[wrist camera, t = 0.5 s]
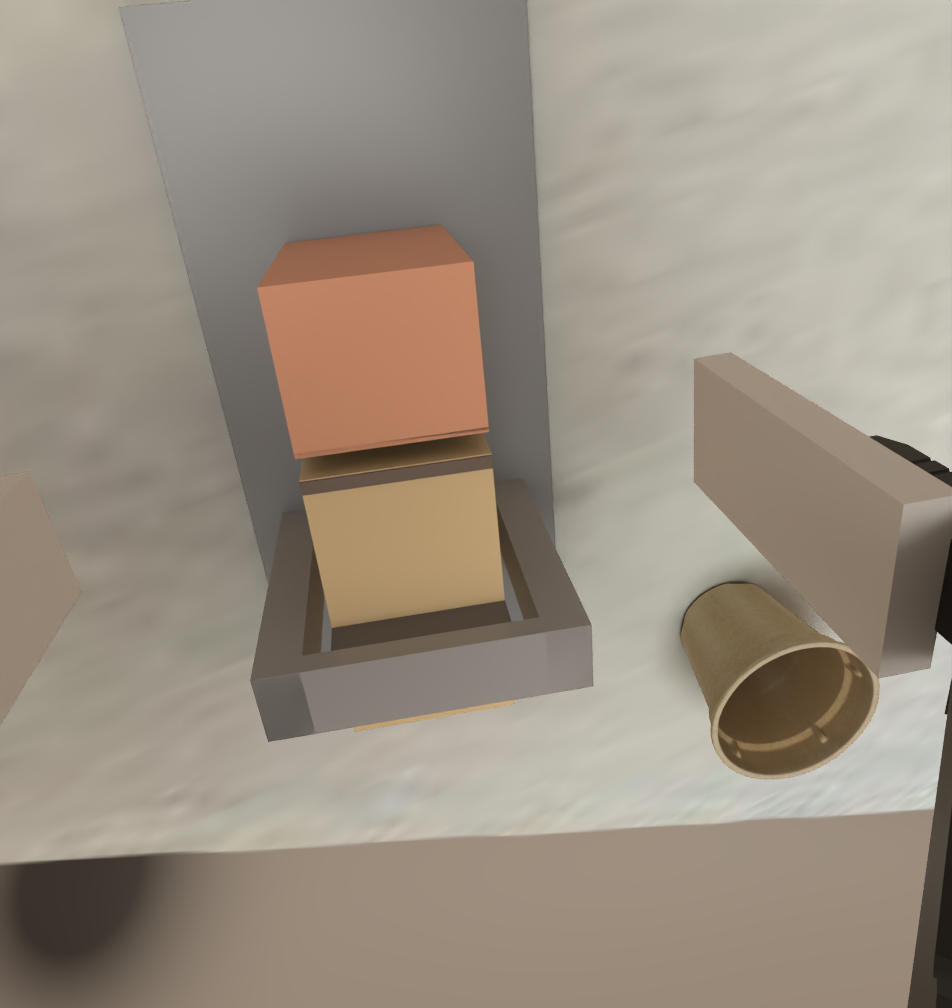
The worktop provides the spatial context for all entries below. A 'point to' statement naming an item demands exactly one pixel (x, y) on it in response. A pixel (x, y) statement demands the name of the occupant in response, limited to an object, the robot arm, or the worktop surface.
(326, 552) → the holder
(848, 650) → the flower pot
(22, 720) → the worktop surface
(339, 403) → the block
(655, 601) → the worktop surface
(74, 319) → the worktop surface
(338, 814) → the worktop surface
